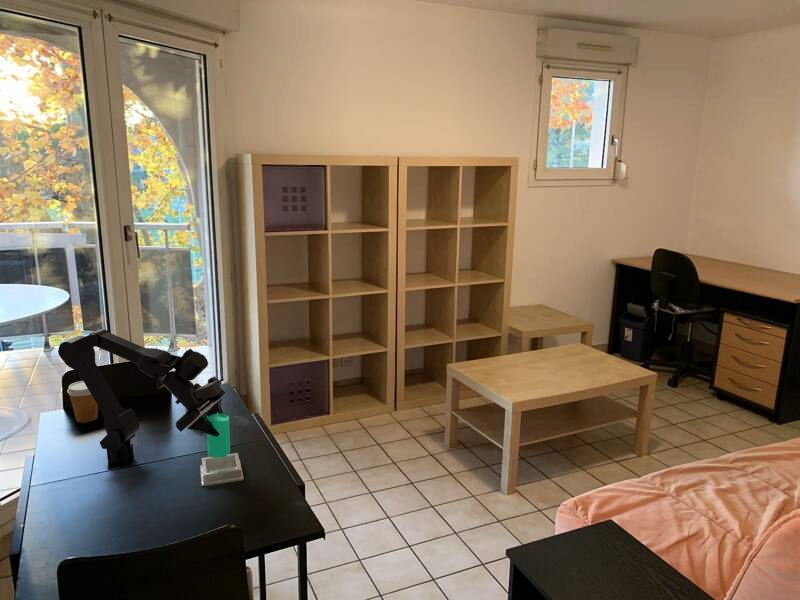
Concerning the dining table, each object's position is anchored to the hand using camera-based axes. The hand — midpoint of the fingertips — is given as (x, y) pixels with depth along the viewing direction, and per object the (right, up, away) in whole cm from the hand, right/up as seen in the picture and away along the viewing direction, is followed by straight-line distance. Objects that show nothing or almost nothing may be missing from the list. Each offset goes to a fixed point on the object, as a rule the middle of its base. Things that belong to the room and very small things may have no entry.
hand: (222, 431), depth 166 cm
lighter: (-19, -5, +34) cm, 39 cm away
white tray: (-2, -12, +6) cm, 14 cm away
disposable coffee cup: (-56, -4, +36) cm, 67 cm away
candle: (-2, -7, +2) cm, 7 cm away
